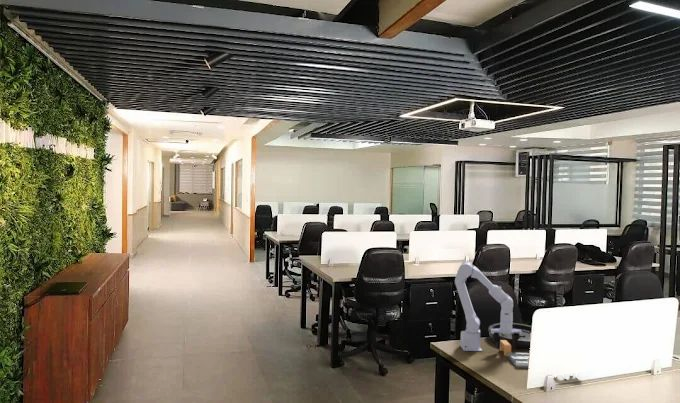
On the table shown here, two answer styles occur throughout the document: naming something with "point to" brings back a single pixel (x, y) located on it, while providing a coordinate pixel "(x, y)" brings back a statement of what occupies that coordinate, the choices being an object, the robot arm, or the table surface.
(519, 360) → the slotted rail
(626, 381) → the table surface
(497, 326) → the grey bolted disc
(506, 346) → the orange notched block
